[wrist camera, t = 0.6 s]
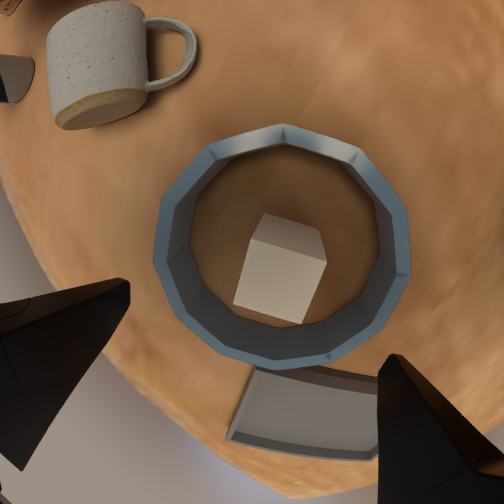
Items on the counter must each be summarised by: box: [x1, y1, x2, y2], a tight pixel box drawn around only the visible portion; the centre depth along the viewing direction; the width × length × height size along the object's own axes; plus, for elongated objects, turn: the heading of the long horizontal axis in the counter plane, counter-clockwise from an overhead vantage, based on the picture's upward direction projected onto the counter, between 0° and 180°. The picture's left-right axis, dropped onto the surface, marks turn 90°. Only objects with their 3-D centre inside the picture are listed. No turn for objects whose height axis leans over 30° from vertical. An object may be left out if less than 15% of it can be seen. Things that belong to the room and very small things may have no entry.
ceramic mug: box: [46, 1, 197, 130], centre depth 13 cm, size 11×8×8 cm
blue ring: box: [153, 123, 411, 370], centre depth 18 cm, size 16×16×4 cm
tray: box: [225, 365, 378, 462], centre depth 25 cm, size 20×14×2 cm
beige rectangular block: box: [233, 213, 327, 324], centre depth 17 cm, size 4×4×6 cm
